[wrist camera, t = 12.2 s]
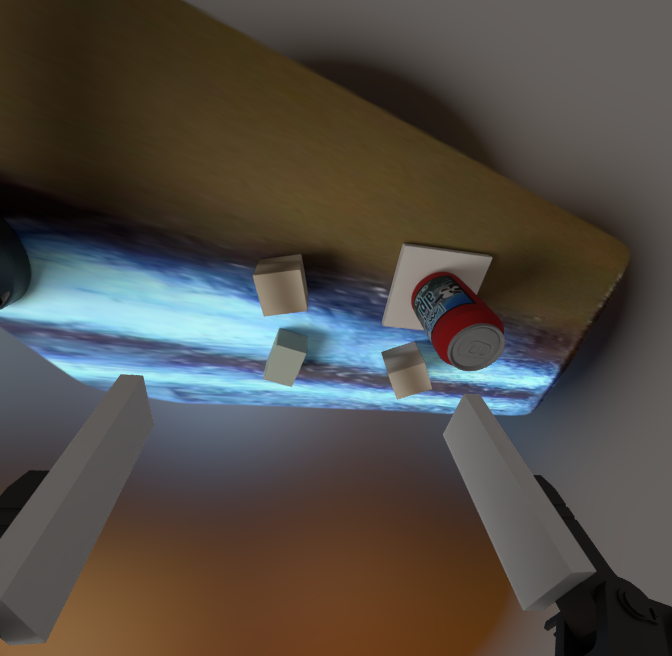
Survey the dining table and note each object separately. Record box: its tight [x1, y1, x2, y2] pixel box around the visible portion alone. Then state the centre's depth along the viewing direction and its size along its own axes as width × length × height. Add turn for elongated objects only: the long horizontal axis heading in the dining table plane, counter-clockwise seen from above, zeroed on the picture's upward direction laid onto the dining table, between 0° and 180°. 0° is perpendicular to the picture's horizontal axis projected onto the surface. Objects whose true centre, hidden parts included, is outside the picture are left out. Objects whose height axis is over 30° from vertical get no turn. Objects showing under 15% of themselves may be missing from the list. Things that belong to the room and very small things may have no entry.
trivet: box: [382, 243, 493, 330], centre depth 40 cm, size 11×11×1 cm
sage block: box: [263, 328, 307, 387], centre depth 43 cm, size 4×6×4 cm, turn 158°
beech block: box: [253, 254, 308, 316], centre depth 36 cm, size 5×5×5 cm
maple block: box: [381, 341, 432, 399], centre depth 44 cm, size 5×5×5 cm
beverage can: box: [411, 272, 505, 371], centre depth 35 cm, size 7×7×12 cm
